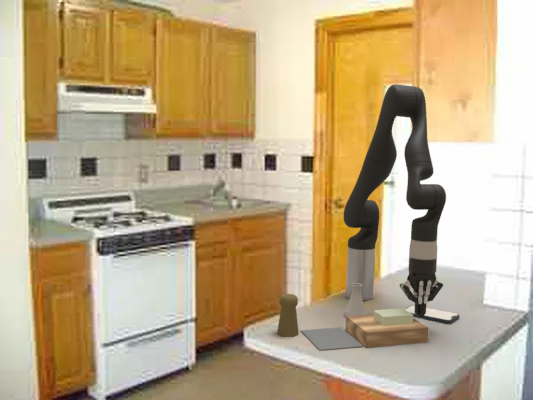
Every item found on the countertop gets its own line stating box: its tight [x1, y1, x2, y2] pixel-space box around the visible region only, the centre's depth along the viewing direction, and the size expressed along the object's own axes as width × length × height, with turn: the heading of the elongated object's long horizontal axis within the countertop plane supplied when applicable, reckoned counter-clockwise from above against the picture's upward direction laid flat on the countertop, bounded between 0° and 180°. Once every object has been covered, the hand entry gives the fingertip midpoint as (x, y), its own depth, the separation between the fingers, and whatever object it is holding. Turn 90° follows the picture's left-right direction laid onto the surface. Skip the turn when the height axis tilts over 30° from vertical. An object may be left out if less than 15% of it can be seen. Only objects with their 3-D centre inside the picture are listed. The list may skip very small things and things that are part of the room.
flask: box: [343, 283, 368, 318], centre depth 181 cm, size 7×7×10 cm
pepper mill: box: [277, 293, 300, 338], centre depth 164 cm, size 6×6×11 cm
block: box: [372, 307, 414, 326], centre depth 164 cm, size 6×9×2 cm, turn 106°
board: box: [345, 313, 429, 348], centre depth 164 cm, size 14×18×4 cm
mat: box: [300, 326, 364, 352], centre depth 161 cm, size 15×12×1 cm
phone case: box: [403, 305, 460, 325], centre depth 183 cm, size 9×2×16 cm
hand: (419, 315), depth 167 cm, fingers closed
